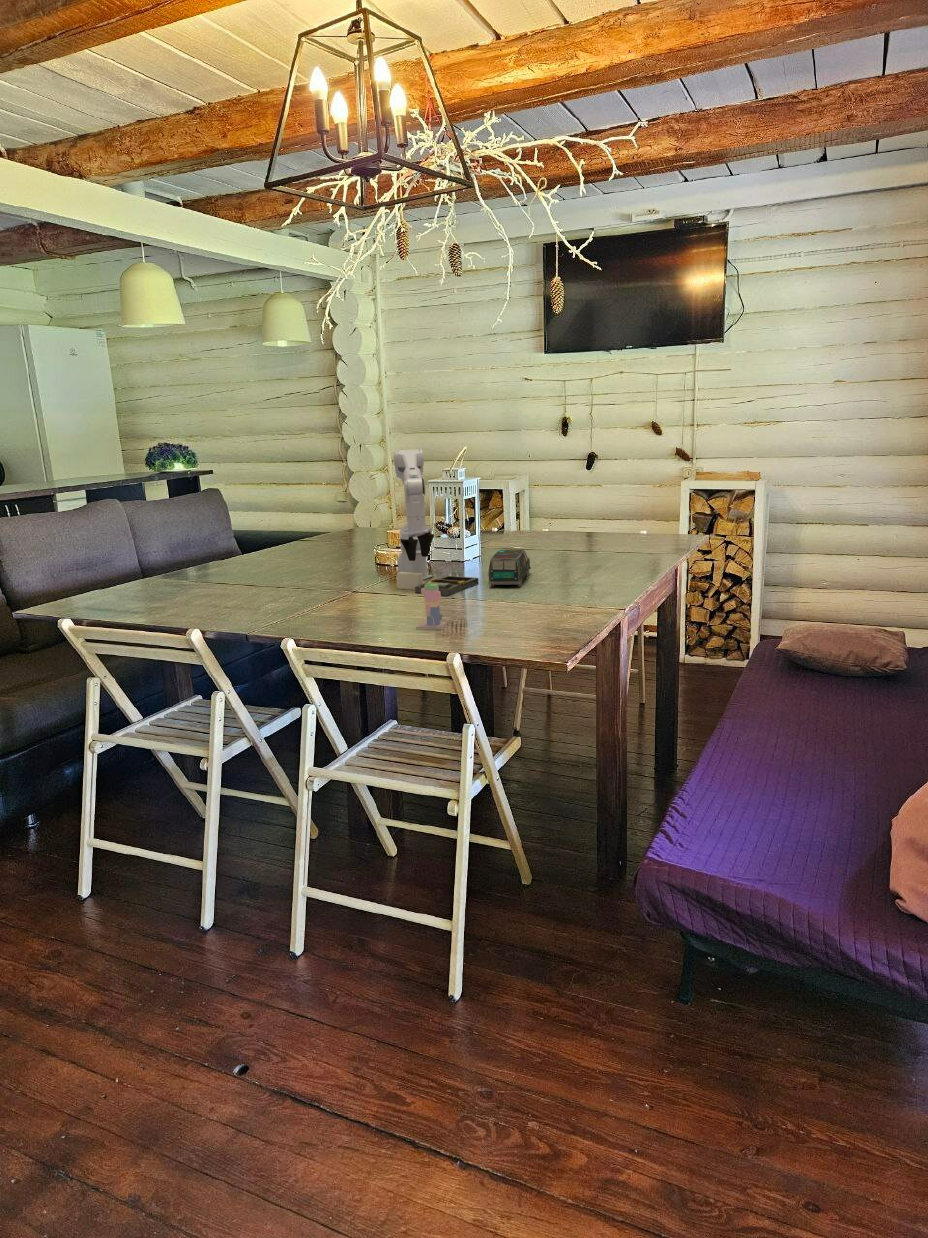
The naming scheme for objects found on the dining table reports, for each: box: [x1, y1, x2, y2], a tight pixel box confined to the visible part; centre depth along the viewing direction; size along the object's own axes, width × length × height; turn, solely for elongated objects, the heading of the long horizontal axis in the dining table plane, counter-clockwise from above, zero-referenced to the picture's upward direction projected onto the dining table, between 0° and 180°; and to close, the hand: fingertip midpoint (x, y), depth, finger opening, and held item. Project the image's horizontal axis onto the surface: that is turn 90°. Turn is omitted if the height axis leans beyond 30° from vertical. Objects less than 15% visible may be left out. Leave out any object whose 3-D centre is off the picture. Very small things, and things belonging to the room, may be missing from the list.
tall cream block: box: [396, 572, 424, 591], centre depth 272 cm, size 8×3×5 cm, turn 59°
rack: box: [414, 575, 480, 597], centre depth 269 cm, size 12×19×3 cm, turn 149°
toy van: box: [487, 548, 532, 587], centre depth 276 cm, size 11×25×10 cm, turn 168°
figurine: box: [415, 580, 448, 631], centre depth 222 cm, size 7×6×12 cm
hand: (418, 558), depth 271 cm, fingers open, 7 cm apart
